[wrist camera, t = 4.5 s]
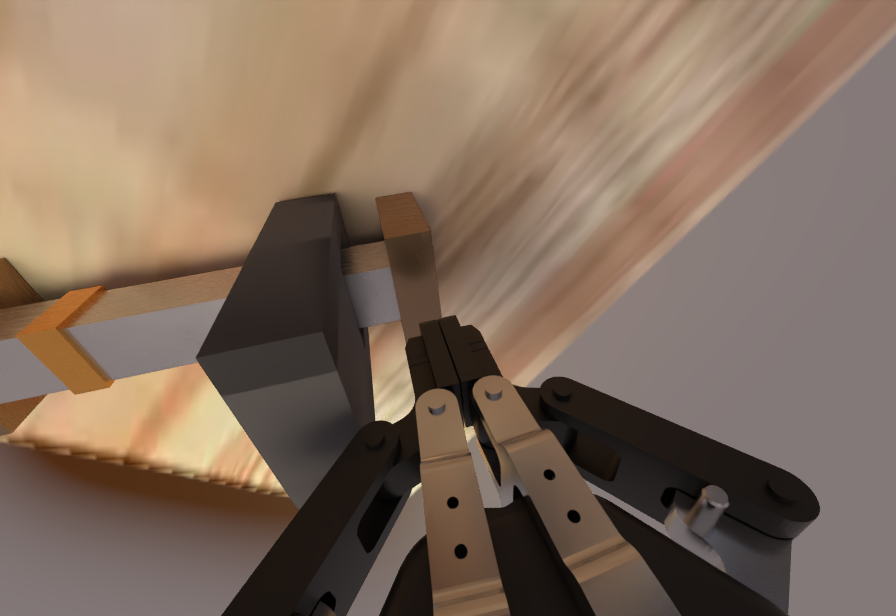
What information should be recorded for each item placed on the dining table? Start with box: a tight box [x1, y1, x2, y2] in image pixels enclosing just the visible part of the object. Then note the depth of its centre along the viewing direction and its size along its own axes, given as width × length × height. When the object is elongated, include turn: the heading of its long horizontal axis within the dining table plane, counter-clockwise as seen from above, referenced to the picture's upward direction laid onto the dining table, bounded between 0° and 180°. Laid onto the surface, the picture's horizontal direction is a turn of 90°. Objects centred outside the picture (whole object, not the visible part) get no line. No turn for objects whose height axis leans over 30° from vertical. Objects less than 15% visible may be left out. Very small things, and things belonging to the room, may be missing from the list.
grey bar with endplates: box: [0, 192, 442, 436], centre depth 18 cm, size 22×6×6 cm, turn 95°
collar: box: [196, 194, 375, 509], centre depth 16 cm, size 3×7×12 cm, turn 6°
